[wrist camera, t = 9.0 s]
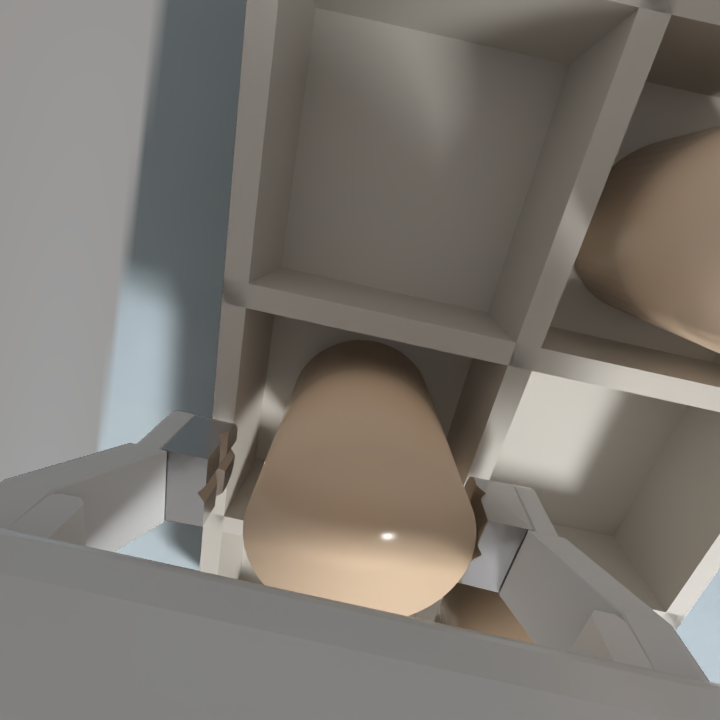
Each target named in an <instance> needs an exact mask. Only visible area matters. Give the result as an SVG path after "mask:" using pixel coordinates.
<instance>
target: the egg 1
mask: <svg viewBox="0 0 720 720" xmlns="http://www.w3.org/2000/svg"><path fill="white" fill-rule="evenodd" d="M243 541H244V547H245V551H246V554H247V558H248V560H249V562H250V564H251V566H252V569H253V570H254V572H255V573H256V575H257V576H258V578H259V579H260V580H261V582H262V583H263V584H264V585H266V586H271V587H275V588H280V589H284V590H289V591H294V592H298V593H303V594H308V595H312V596H317V597H322V598H326V599H331V600H335V601H340V602H345V603H349V604H354V605H359V606H363V607H368V608H372V609H377V610H382V611H386V612H391V613H396V614H400V615H405V616H409V615H412V614H414V613H417V612H419V611H421V610H423V609H425V608H427V607H429V606H431V605H432V604H434V603H435V602H437V601H438V600H439V599H441V598H442V597H443V596H444V595H446V594H447V593H448V592H449V591H450V590H451V589H452V588H453V587H454V586H455V585H456V584H457V583H458V581H459V580H460V579H461V577H462V576H463V574H464V573H465V571H466V570H467V567H468V565H469V563H470V561H471V559H472V556H473V552H474V549H475V543H476V521H475V517H474V512H473V509H472V506H471V504H470V501H469V498H468V496H467V493H466V490H465V488H464V485H463V482H462V480H461V477H460V474H459V472H458V469H457V466H456V464H455V461H454V458H453V456H452V453H451V450H450V448H449V445H448V442H447V440H446V437H445V434H444V432H443V429H442V426H441V424H440V421H439V418H438V416H437V413H436V410H435V408H434V405H433V402H432V400H431V397H430V394H429V392H428V389H427V386H426V384H425V381H424V378H423V376H422V375H421V373H420V371H419V370H418V368H417V367H416V366H415V364H414V363H413V362H412V361H411V360H410V359H409V358H408V357H406V356H405V355H404V354H403V353H401V352H400V351H398V350H396V349H394V348H393V347H390V346H388V345H385V344H382V343H378V342H374V341H366V340H355V341H347V342H343V343H339V344H336V345H333V346H331V347H328V348H327V349H325V350H323V351H321V352H320V353H318V354H317V355H316V356H314V357H313V358H312V359H311V360H310V361H309V362H308V363H307V364H306V366H305V367H304V368H303V370H302V371H301V373H300V375H299V376H298V379H297V381H296V384H295V386H294V389H293V391H292V394H291V396H290V399H289V401H288V404H287V407H286V409H285V412H284V414H283V417H282V419H281V422H280V424H279V427H278V429H277V432H276V434H275V437H274V440H273V442H272V445H271V447H270V450H269V452H268V455H267V457H266V460H265V462H264V465H263V467H262V470H261V473H260V475H259V478H258V480H257V483H256V485H255V488H254V490H253V493H252V495H251V498H250V500H249V503H248V506H247V508H246V511H245V516H244V521H243Z"/></svg>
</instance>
